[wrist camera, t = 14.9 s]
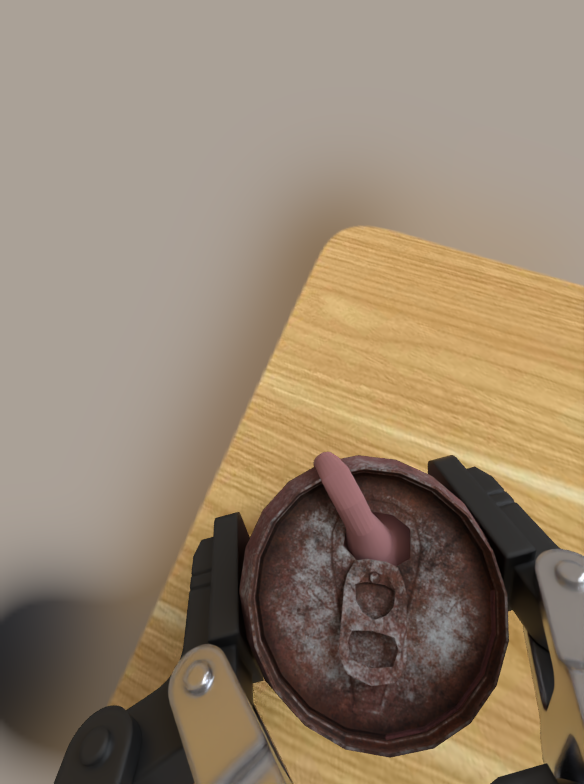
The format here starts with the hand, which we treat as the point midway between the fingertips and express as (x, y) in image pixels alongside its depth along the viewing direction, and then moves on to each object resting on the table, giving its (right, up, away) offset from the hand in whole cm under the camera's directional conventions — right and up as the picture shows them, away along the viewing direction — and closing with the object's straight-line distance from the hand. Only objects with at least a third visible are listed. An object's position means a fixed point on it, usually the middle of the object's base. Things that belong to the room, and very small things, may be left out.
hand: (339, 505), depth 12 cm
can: (+1, -4, +10) cm, 11 cm away
